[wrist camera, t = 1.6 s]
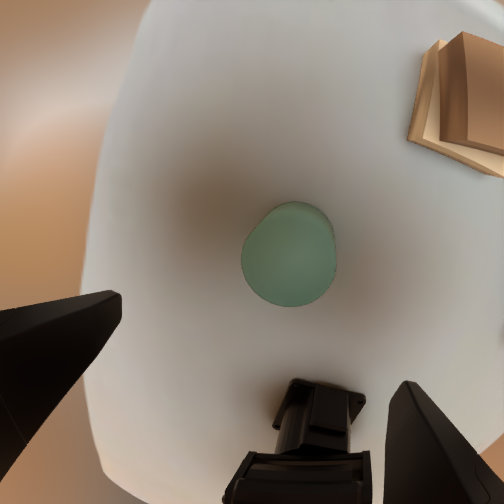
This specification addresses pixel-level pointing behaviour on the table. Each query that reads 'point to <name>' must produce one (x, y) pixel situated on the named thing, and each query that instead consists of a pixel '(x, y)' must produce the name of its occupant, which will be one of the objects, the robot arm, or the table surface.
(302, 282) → the sage green cylinder
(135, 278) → the table surface
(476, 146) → the tower top
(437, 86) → the tower base
